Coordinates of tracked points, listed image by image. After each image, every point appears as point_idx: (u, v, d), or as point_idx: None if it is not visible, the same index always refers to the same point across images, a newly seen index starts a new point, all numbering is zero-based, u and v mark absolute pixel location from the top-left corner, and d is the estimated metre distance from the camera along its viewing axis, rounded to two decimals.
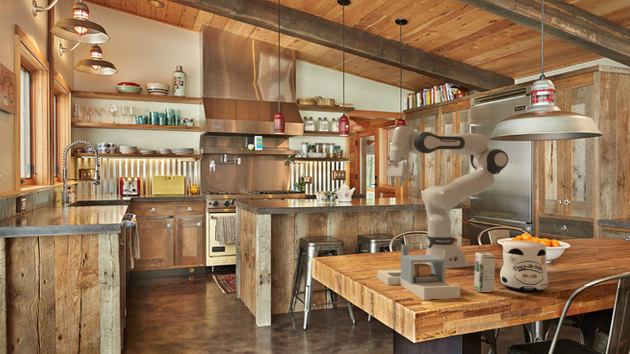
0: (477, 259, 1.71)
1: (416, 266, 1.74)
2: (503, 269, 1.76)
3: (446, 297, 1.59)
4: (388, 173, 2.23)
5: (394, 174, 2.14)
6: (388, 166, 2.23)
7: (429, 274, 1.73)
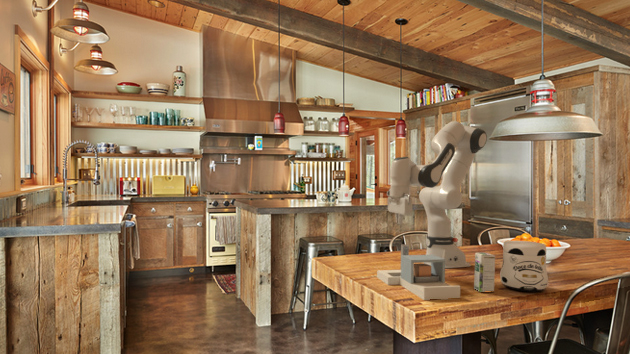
0: (477, 259, 1.71)
1: (416, 266, 1.74)
2: (503, 269, 1.76)
3: (446, 297, 1.59)
4: (389, 209, 2.05)
5: (396, 212, 1.97)
6: (389, 201, 2.05)
7: (429, 274, 1.73)
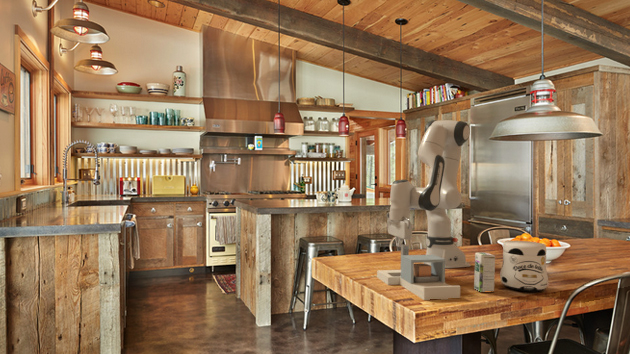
0: (477, 259, 1.71)
1: (416, 266, 1.74)
2: (503, 269, 1.76)
3: (446, 297, 1.59)
4: (389, 231, 2.05)
5: (396, 235, 1.97)
6: (388, 223, 2.05)
7: (429, 274, 1.73)
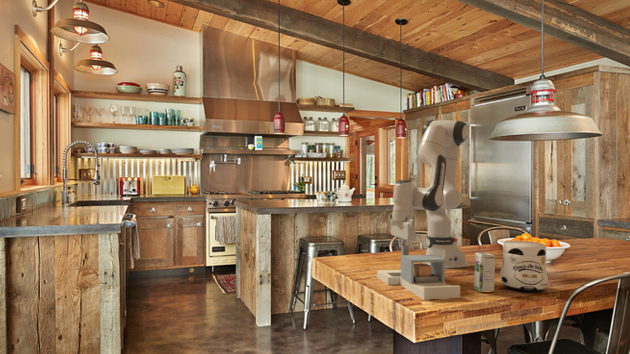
0: (477, 259, 1.71)
1: (416, 266, 1.74)
2: (503, 269, 1.76)
3: (446, 297, 1.59)
4: (392, 232, 2.02)
5: (399, 236, 1.93)
6: (391, 224, 2.02)
7: (429, 274, 1.73)
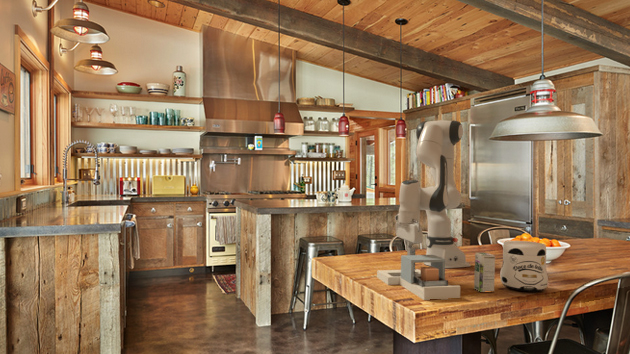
0: (477, 259, 1.71)
1: (423, 270, 1.68)
2: (503, 269, 1.76)
3: (446, 297, 1.59)
4: (398, 234, 1.95)
5: (405, 238, 1.86)
6: (397, 226, 1.95)
7: (436, 278, 1.67)
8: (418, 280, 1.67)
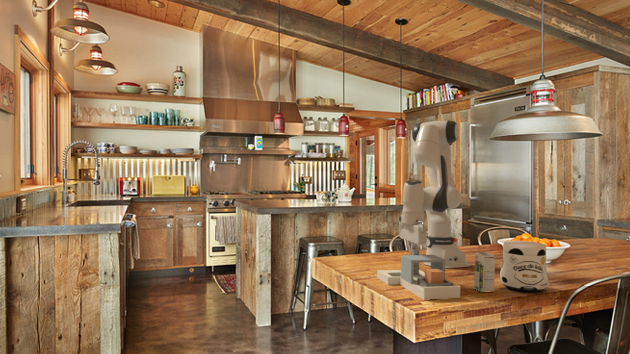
0: (477, 259, 1.71)
1: (427, 272, 1.65)
2: (503, 269, 1.76)
3: (446, 297, 1.59)
4: (401, 235, 1.91)
5: (409, 239, 1.83)
6: (400, 227, 1.92)
7: (441, 281, 1.63)
8: (422, 282, 1.63)
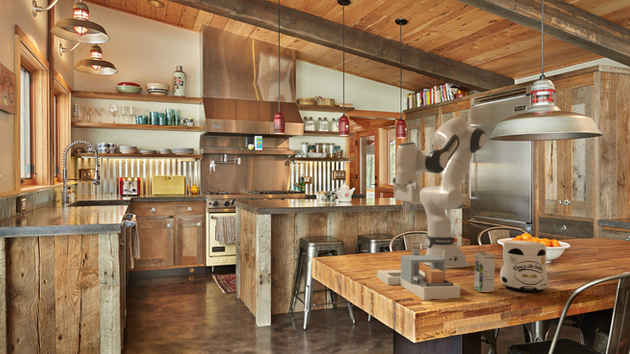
0: (477, 259, 1.71)
1: (427, 272, 1.64)
2: (503, 269, 1.76)
3: (446, 297, 1.59)
4: (395, 196, 1.98)
5: (403, 199, 1.90)
6: (395, 189, 1.98)
7: (441, 281, 1.63)
8: (423, 283, 1.63)
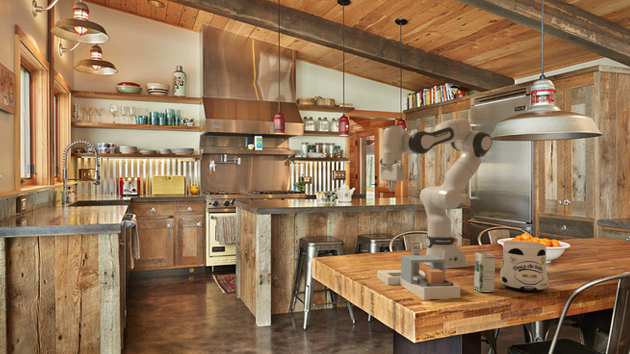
0: (477, 259, 1.71)
1: (427, 272, 1.64)
2: (503, 269, 1.76)
3: (446, 297, 1.59)
4: (382, 177, 2.09)
5: (389, 178, 2.01)
6: (381, 169, 2.10)
7: (441, 281, 1.63)
8: (423, 283, 1.63)
